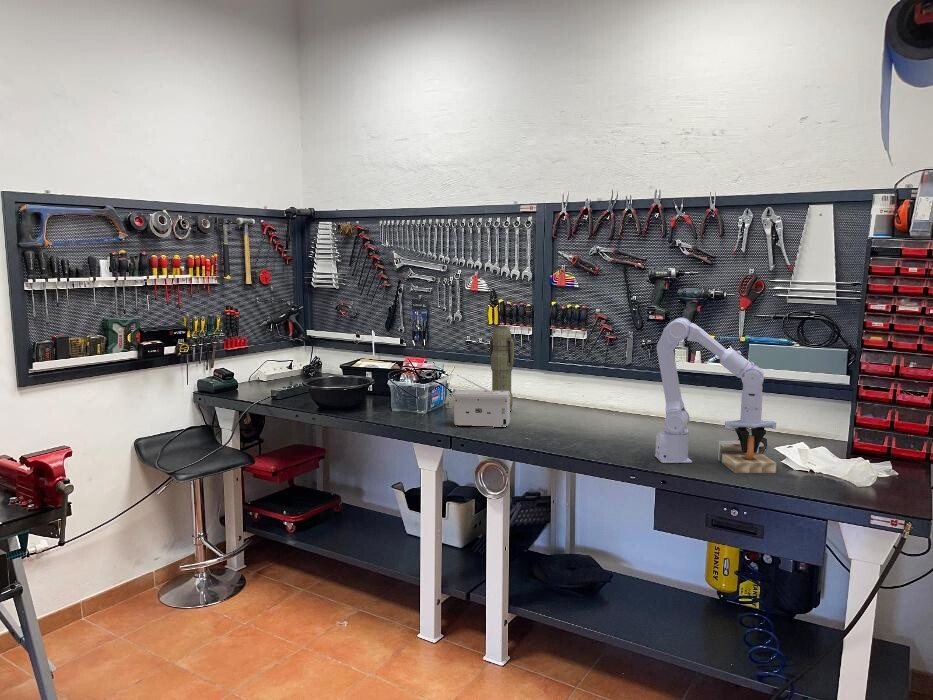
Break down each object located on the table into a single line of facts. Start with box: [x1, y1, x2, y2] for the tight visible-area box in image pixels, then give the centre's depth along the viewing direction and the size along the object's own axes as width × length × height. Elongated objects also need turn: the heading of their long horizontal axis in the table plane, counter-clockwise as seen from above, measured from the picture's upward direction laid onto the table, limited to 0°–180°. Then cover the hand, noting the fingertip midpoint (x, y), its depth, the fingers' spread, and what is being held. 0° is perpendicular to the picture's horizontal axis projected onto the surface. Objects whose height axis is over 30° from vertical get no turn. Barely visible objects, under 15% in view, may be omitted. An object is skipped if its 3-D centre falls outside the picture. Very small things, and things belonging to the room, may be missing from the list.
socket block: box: [721, 453, 777, 474], centre depth 206 cm, size 12×10×3 cm
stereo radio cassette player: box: [453, 374, 511, 428], centre depth 257 cm, size 21×8×20 cm, turn 84°
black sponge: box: [737, 436, 768, 454], centre depth 224 cm, size 16×8×4 cm, turn 149°
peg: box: [745, 434, 755, 460], centre depth 205 cm, size 2×2×7 cm
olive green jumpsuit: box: [489, 325, 515, 412], centre depth 281 cm, size 9×12×35 cm
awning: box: [717, 439, 764, 462], centre depth 212 cm, size 12×4×6 cm, turn 91°
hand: (749, 451), depth 205 cm, fingers closed on peg, 2 cm apart
